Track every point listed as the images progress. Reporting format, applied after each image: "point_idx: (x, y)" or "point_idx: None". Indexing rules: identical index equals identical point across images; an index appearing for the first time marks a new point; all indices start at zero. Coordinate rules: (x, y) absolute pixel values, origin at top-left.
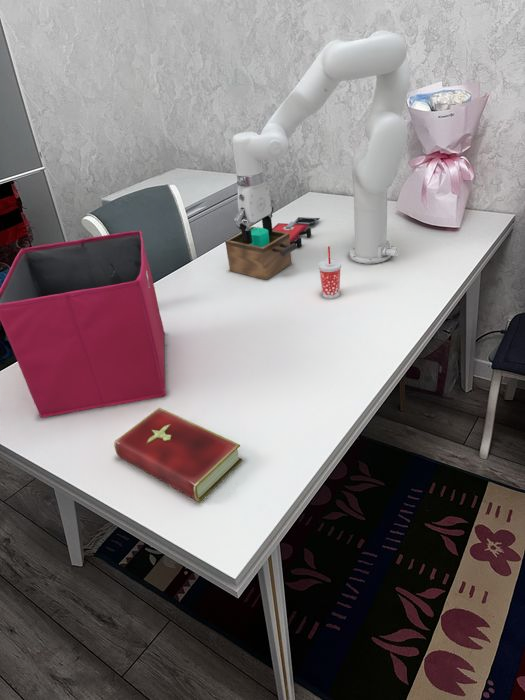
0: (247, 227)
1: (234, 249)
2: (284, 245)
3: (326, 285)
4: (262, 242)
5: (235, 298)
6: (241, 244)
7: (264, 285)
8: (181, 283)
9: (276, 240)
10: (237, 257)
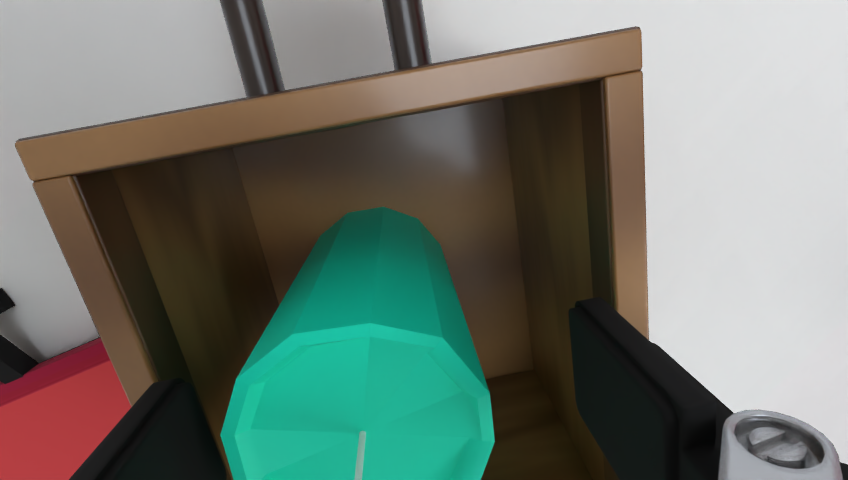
0: (812, 469)
1: None
2: (259, 25)
3: None
4: (407, 283)
5: (803, 48)
6: None
7: (569, 30)
8: None
9: (321, 95)
10: None
